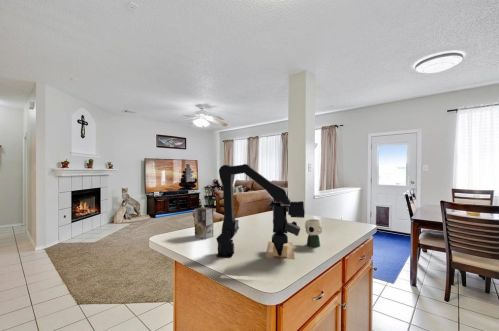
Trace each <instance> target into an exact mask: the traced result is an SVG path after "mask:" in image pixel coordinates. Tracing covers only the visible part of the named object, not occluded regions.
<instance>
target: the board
mask: <svg viewBox="0 0 499 331" xmlns="http://www.w3.org/2000/svg"><path fill="white" fill-rule="evenodd" d="M273 244H274V243H272V241H268V243H267V247H266V252H265V259H279V260H280V259H282V260H296V258H295V252H294V246H293V242H289V241H288V243H287V257H273Z"/></svg>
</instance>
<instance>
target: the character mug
mask: <svg viewBox="0 0 499 331" xmlns="http://www.w3.org/2000/svg"><path fill="white" fill-rule="evenodd" d="M304 228H305V233H306V234H307V241H306V246H309V248H320V247H321V241H320V236H319V235H321V234H322V233H323V226H322V221H321V220H320V219H315V218H307V219H305V222H304Z"/></svg>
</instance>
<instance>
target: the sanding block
mask: <svg viewBox="0 0 499 331" xmlns="http://www.w3.org/2000/svg"><path fill="white" fill-rule="evenodd" d="M273 257H287V244H284V245H283V250H282V255H281V256H279V255H278V253H277V250H276V248H275V246H274V244H273Z"/></svg>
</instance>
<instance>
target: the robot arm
mask: <svg viewBox="0 0 499 331" xmlns="http://www.w3.org/2000/svg"><path fill="white" fill-rule="evenodd" d="M218 174H219V178H220V181H221V184H222V190H223V191H222V192H223V193H222V194H223V196H222V197H223V220H222V226H221V233H220V234H219V235H218V236H217V237H216V238H215V240H216V242H217V254H216V257H219V258H232V257H233V255H234V254H235V243H234V239H233V238H234V237H235V236H236V234H237V233H238V230H239V229H240V227H239V219H236V217H235V212H234V211H235V210H234V208H235V206H234V187H233V185H234V181H235V176H236V175H240V174H244V175H246V176H247V177H248V178H250V179H251V180H252V181H254V182H255V183H257V184H258V185H259V186H260V187H262V188H263V189H264V190H265V191H266V192H267V193H268V194H269V196H270V197H272V199H273V200H271V202H269V203H268V207H272V233H273V234H272V235H271V242H272V243H274V246H275V248H276V250H277V253H278V255H279V256H281V255H282V250H283V245H284V244H287V243H288V242H289V239H288V238H289V237H288V233H290V234H293V235H294V236H297V237H298V236H299V233H300V232H301V226H299V225H298V222H296V221H292V222H288V219H287V216H290V218H297V219H298V218H299V219H300V218H302V219H304V218H305V212H306V211H305V204H304V201H302V200H301V201H291V199H290V198H289V197H288V195H287V191H286V189H285V188H283V187H282V186H279V185H278V184H276V183H273V182H271V181H270V180H268V179H267V178H266V177H264V176H263V175H262V174H261V173H260V172H257V170H255V169H254V168H252V167H251V165H249V164H248V163H247V164H246V163H244V164H240V165H231V164H229V165H228V164H224V165H221V167H220V168H219V170H218ZM275 201H276V202H275Z"/></svg>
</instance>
